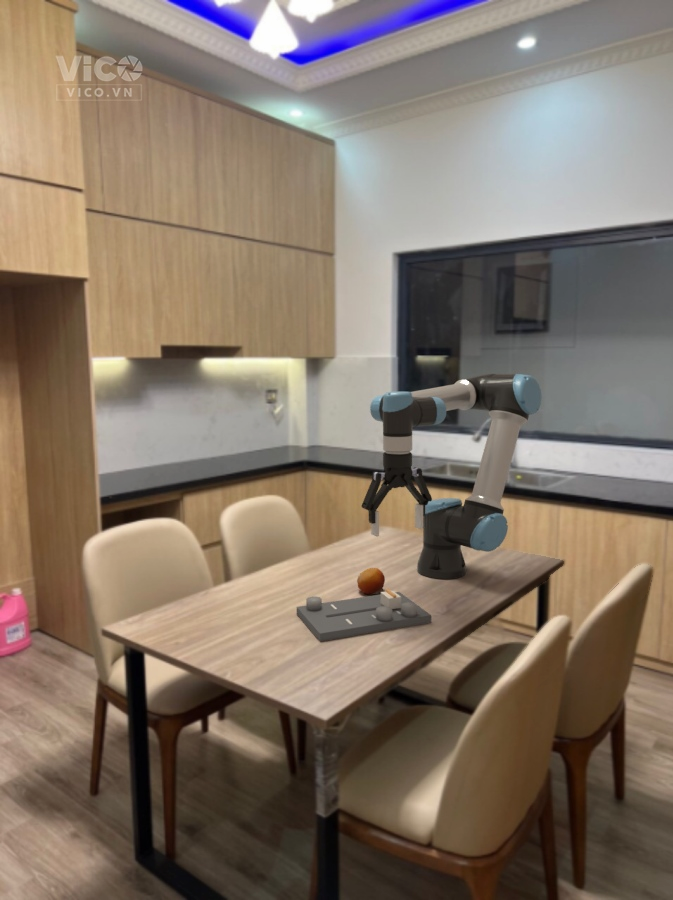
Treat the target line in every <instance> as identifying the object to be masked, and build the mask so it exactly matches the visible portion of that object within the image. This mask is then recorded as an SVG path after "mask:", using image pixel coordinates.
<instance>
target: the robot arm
mask: <svg viewBox="0 0 673 900" xmlns="http://www.w3.org/2000/svg"><path fill="white" fill-rule="evenodd" d="M541 405H542V389H541V388H540V383H539V382H538V380H537V379H536V378H535V376H532V375H529V374H521V373H515V374H514V373H512V374H511V373H487V374H481V375H477V376H472V377H469V378H464V379H459V380H457V381H456V382H455V383H454V384H448V385H443V386H438V387H432V388H426V389H421V390H420V389H419V390H414V391H388V392H385V393H384V394H383V395H382V394H381V395H376V396H375V397H373V399H372V401H371V402H370V405H369V406H370V407H369V409H370V410H369V412H370V415H371V417H372V418H373V419H374V420H375V421H378V422H382V444H383V445H382V449H383V451H384V452H383V453H382V466H383V471H382V472H378V471H373V472H372V476H371V482H370V484H369V486H368V489H367V491H366V494H365V496H364V499H363V501H362V503H361V508H362V509H363V510H366V511H368V522H369V524H370V525H371V526H370V529H371V530H370V532H371V535H372V536H374V537H380V511H379V510H378V508H379V507H380V505H381V504H382V503H383V501H384V499H385V498H386V496H387V495H388V493H389V492H390V491H392V489H398V488H406V489H407V491H408V492H409V493H410V494H411V495H412V497H413V498H414V499H415V500H416V502H417V503H414V528H416V529H418V530H423V531H422V532H423V535H422V536H423V537H422V539H423V541H422V543H423V545H422V549H421V552H420V555H419V558H418V561H417V566H416V567H417V569H416V570H417V572H418V574H420V575H421V576H424V577H427V578H430V579H438V580H440V579H443V580H449V579H457V578H460V577H463V576H465V575H466V573H467V564H466V562H465V558H464V555H463V552H462V549H461V548H462V547H461V546H463V547H466V548H470V549H473V550H475V551H477V552H479V551H481V552H486V553H487V552H492V551H495V550H497V548H500V546H501V545H503V542H504V540H505V539H506V537H507V534H508V528H509V525H508V520H507V517H505V515H504V512H505V511H504V510H505V509H504V507H503V505H502V504H501V502H502V499H503V498H502V497H503V495H504V491H505V487H506V483H507V479H508V476H509V472H510V468H511V464H512V460H513V456H514V453H515V449H516V445H517V442H518V437H519V435H520V434H519V433H520V429H521V427H522V426H523V425H525V424H527V423H528V420H529V417H530V415H534V414H536V413H537V412H538V411H539V409H540V407H541ZM458 409H459V410H461V411H469V410H475V411H476V410H478V411H486V412H488V415H489V416H490V418H491V422H490V423H491V424H490V426H489V429H488V434H487V437H486V442H485V445H484V449H483V452H482V455H481V460H480V464H479V466H478V467H479V468H478V471H477V475H476V478H475V482H474V485H473V489H472V493H471V495H470V496H468V497H466V498H465V499H464V503H463V502H462V501H463V500H461V498H452V497H450V498H449V497H447V498H444V497H443V498H435V499H433V498H432V495H431V493H430V490H429V488H428V485H427V483H426V481H425V478H424V477H423V469H422V468H419V467H415V466H414V467H412V466H413V453H412V451H413V428H417V427H427V426H431V427H433V426H435V425H439V424H442V422H444V421H445V419H446V416H447V411H452V410H453V411H454V410H458ZM412 477H413V479H414V481H415V483H416V486H417V487H418V489H417V487H416V486H415V484H414V482H413V481H412V480H411V478H412ZM381 481H383V482H381Z"/></svg>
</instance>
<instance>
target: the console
mask: <svg viewBox="0 0 673 900" xmlns="http://www.w3.org/2000/svg"><path fill="white" fill-rule="evenodd" d="M394 592H395V593H397V594H398V595H399V596H401V608H397V609H392V608H390V607H387V606H384V605H382V604H381V593H380V594H373V595H368V596H362V597H360V596H359V597H354V598H348V599H340V600H334V601H328V602H327V601H326V602H323V599H322V598H321V597H320V596H309V597H306V601H305V602H306V605H300V606H296V615H297V616H298V617H299V618H300V621H302V622H303V623H304V625H305V626H306V627H307V628H308V629H309V631H311V633H312V634H313V635H314V637H315V638H316V639H317V640H318V642H325V641H330V640H331V641H332V640H337V639H342V638H343V639H344V638H347V637H348V638H350V637H355V636H361V635H367V634H371V633H373V634H374V633H379V632H383V631H385V632H386V631H389V630H396V629H401V628H407V627H413V626H419V625H424V624H432V614H430V613H429V612H428V611H426V610H425V609H424V608H423V607H420V606H419V605H418V604H417V603H415V602H414V601H413V600H411V599H410V598H409V597H407V596H405V595H404V594H403V593H402V592H400V591H394Z"/></svg>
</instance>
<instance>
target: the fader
mask: <svg viewBox="0 0 673 900" xmlns="http://www.w3.org/2000/svg"><path fill="white" fill-rule="evenodd" d="M395 592H396V591H394V590H390V589H388V588H385V591H380V594H381V604H382V605H384V606H387V607H390V608H392V609H397V608H401V596H399V595H398V594H397V593H395Z"/></svg>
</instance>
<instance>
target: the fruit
mask: <svg viewBox="0 0 673 900" xmlns="http://www.w3.org/2000/svg"><path fill="white" fill-rule="evenodd" d="M385 580H386V579H385V574H384V573H383V571H381V570H380V569H379V568H378V567H377V568H376V567H370V568H367V569H365V570H364V571H363V570H362V572H360V573H359V575H358V577H357V580H356V582H357V588H358V590H360V591H361V593H363V594H365V595H368V596H372V595H380V594H381V592H382V591H384V589H383V588H384V586H385Z"/></svg>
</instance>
